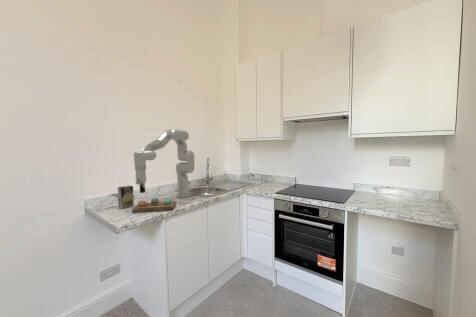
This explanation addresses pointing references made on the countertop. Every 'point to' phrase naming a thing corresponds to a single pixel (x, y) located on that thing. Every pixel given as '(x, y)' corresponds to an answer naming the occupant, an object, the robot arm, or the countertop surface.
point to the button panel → (154, 207)
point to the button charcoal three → (154, 201)
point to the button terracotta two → (142, 203)
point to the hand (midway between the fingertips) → (142, 192)
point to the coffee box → (125, 197)
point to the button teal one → (167, 201)
